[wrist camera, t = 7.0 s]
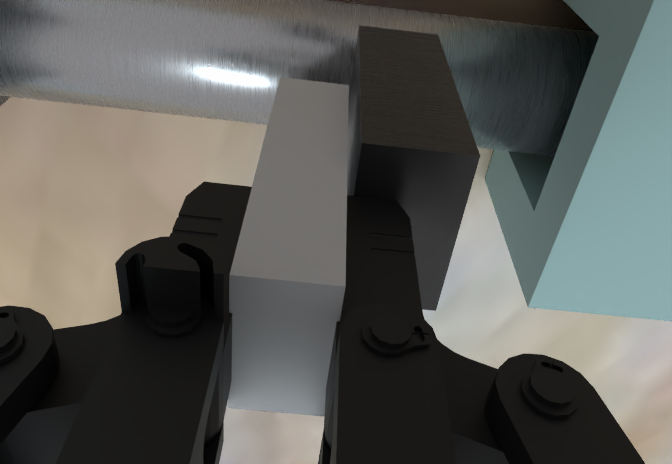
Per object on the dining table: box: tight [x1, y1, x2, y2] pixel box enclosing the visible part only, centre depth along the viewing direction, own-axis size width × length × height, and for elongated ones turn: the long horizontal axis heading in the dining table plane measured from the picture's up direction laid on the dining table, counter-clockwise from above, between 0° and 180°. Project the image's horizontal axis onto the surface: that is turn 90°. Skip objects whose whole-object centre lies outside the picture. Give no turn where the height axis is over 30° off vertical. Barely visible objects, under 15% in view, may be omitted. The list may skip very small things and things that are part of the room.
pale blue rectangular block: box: [485, 0, 672, 321], centre depth 17 cm, size 5×9×7 cm, turn 174°
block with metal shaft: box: [0, 0, 599, 311], centre depth 15 cm, size 22×4×10 cm, turn 84°
